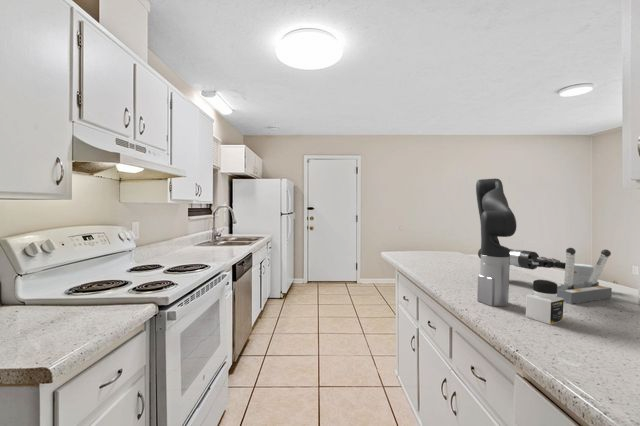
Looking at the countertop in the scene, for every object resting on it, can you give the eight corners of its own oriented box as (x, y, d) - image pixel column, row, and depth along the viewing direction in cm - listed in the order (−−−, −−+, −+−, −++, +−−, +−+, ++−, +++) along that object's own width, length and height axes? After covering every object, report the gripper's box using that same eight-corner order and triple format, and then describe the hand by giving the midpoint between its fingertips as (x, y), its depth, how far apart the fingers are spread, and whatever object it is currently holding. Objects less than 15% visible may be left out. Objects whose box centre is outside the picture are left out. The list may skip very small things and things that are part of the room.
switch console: (571, 304, 110) (571, 288, 110) (547, 297, 117) (548, 282, 117) (611, 298, 118) (611, 283, 118) (587, 292, 125) (587, 278, 125)
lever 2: (592, 287, 118) (609, 251, 113) (584, 284, 121) (600, 248, 116) (597, 287, 119) (614, 251, 114) (589, 283, 122) (605, 248, 117)
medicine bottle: (550, 325, 90) (552, 284, 89) (525, 317, 96) (526, 279, 96) (563, 321, 93) (564, 282, 93) (537, 313, 99) (538, 277, 99)
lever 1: (569, 290, 113) (572, 248, 112) (561, 287, 116) (564, 247, 115) (574, 289, 114) (577, 248, 113) (566, 287, 117) (569, 246, 116)
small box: (590, 288, 132) (591, 264, 131) (593, 291, 127) (594, 266, 127) (566, 285, 136) (567, 262, 136) (568, 288, 131) (569, 264, 131)
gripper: (512, 251, 129) (556, 257, 113) (533, 249, 134) (579, 255, 117) (512, 268, 129) (556, 277, 113) (533, 266, 134) (578, 275, 118)
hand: (567, 266), depth 115 cm, fingers closed
